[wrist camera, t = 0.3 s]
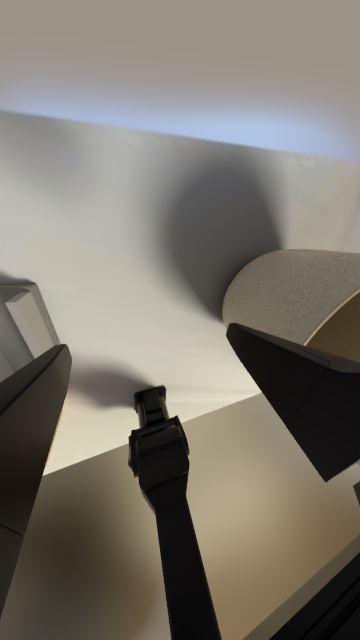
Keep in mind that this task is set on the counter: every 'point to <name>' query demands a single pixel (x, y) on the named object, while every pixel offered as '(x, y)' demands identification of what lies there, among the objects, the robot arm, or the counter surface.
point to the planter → (300, 299)
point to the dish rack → (23, 327)
